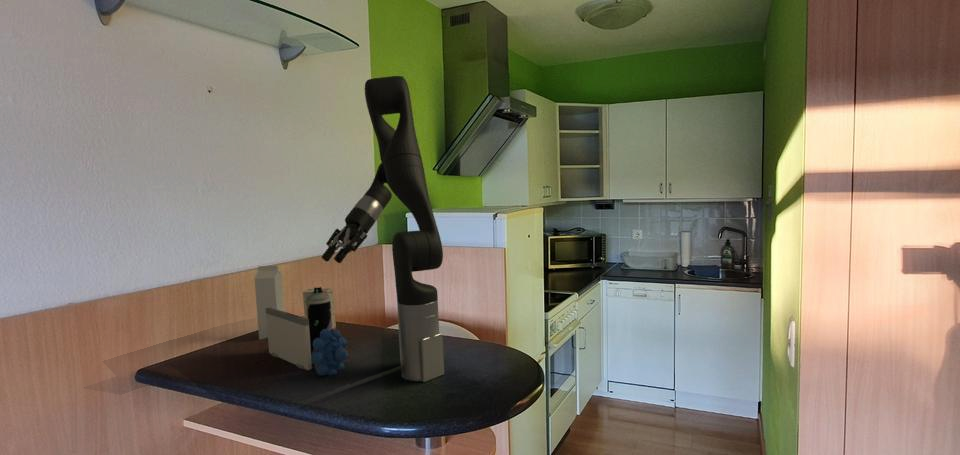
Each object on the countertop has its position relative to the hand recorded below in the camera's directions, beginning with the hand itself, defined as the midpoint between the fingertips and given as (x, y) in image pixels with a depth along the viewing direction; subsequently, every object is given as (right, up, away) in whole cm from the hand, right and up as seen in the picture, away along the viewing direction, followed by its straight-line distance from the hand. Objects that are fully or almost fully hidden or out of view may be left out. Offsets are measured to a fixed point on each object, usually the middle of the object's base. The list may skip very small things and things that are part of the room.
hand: (330, 260), depth 137 cm
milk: (-21, -25, +13) cm, 35 cm away
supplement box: (-9, -24, +19) cm, 32 cm away
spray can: (+3, -26, -15) cm, 30 cm away
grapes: (+8, -26, -23) cm, 35 cm away
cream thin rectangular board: (-7, -24, -13) cm, 28 cm away
